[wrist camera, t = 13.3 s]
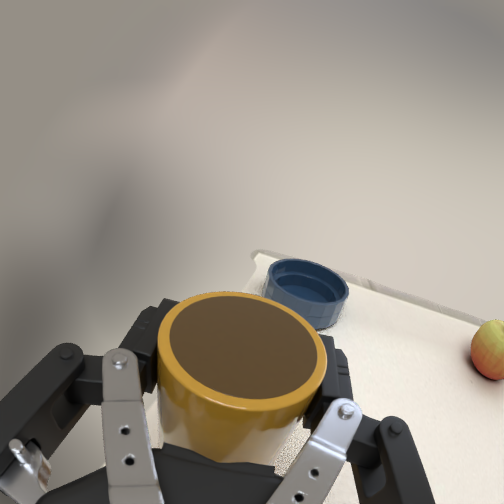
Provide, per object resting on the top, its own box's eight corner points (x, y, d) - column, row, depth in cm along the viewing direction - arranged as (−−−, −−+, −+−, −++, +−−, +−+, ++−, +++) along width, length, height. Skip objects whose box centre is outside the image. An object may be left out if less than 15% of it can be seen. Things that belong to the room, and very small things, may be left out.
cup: (156, 504, 12) (142, 396, 8) (165, 422, 18) (171, 280, 13) (264, 511, 13) (347, 410, 8) (257, 431, 19) (309, 299, 14)
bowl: (265, 328, 39) (273, 299, 37) (258, 279, 49) (264, 253, 47) (347, 335, 40) (359, 308, 39) (327, 288, 51) (335, 264, 49)
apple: (466, 380, 34) (496, 337, 31) (458, 341, 43) (482, 302, 39) (510, 394, 32) (540, 354, 28) (499, 356, 40) (523, 320, 36)
